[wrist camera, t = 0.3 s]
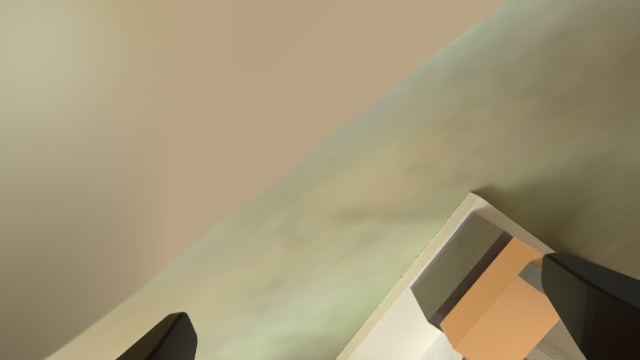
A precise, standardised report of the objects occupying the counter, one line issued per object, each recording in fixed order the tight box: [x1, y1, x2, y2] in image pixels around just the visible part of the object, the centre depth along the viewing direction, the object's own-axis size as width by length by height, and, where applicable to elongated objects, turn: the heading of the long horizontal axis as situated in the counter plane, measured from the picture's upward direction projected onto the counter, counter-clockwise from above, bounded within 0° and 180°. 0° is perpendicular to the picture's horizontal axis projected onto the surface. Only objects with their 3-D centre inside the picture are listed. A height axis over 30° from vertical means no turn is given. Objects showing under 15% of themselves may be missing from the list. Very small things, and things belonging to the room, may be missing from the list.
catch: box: [440, 237, 560, 360], centre depth 17 cm, size 6×3×3 cm, turn 145°
